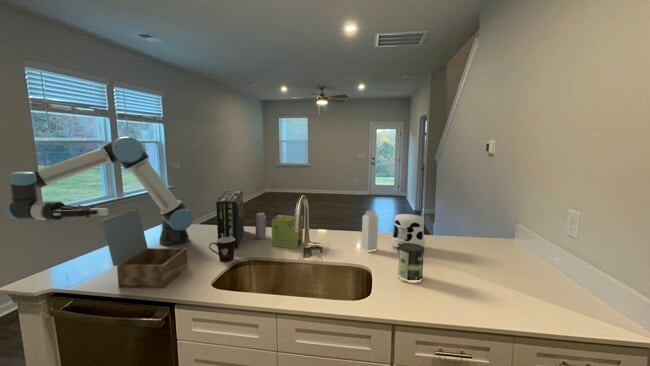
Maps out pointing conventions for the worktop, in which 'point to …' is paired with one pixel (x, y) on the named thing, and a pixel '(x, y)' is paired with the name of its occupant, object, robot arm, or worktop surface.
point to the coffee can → (411, 261)
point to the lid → (124, 235)
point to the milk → (369, 230)
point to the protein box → (286, 232)
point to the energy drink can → (260, 225)
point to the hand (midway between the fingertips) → (106, 211)
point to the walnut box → (152, 268)
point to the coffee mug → (225, 248)
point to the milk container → (408, 230)
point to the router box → (230, 216)
